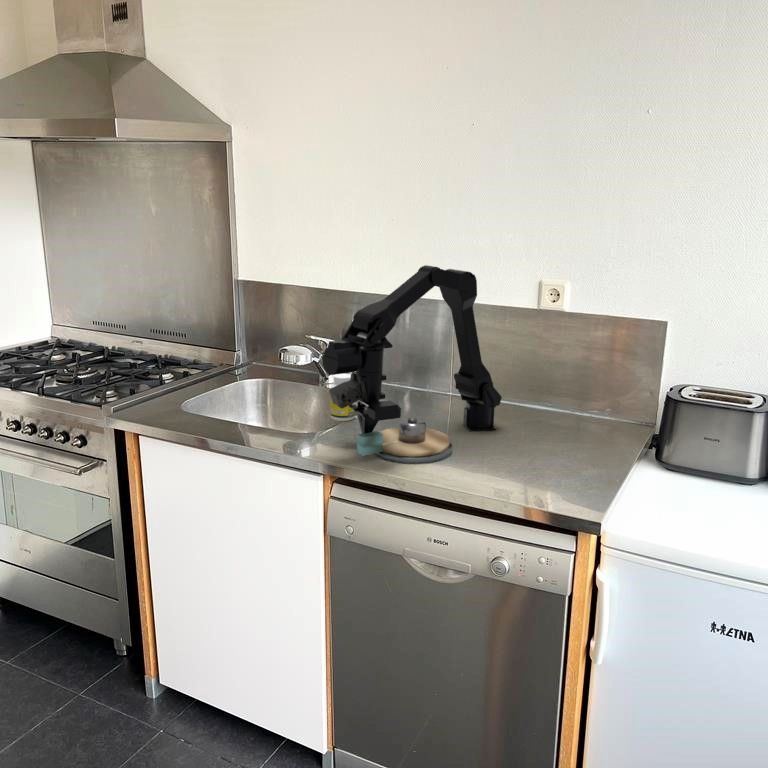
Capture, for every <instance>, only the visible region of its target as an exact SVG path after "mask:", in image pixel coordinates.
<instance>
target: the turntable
mask: <svg viewBox="0 0 768 768" xmlns="http://www.w3.org/2000/svg"><path fill="white" fill-rule="evenodd" d="M398 435H399V426H398V427H390V428H387V429H383V430H381V431H378V430H376V431H374V430H373V431H372V432H369V433H364V434H362V433H360V434H357V435H356V453H357V454H358V455H360V456H363V457H365V456H369V455H374V453H378V452H386V453H389V454H393V455H399V456H409V457H420V456H430V455H435V454H439V453H441V452H443V451H445V450H447V449H448V448H449V446H450V443H451V439H450V437H449V436H448V435H447V434H446V433H444V432H442V431H439V430H437V429H432V428H428V427H426V434H425V441H424V442H422V443H416V444H409V443H404V442H401V441H399V439H398Z"/></svg>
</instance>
